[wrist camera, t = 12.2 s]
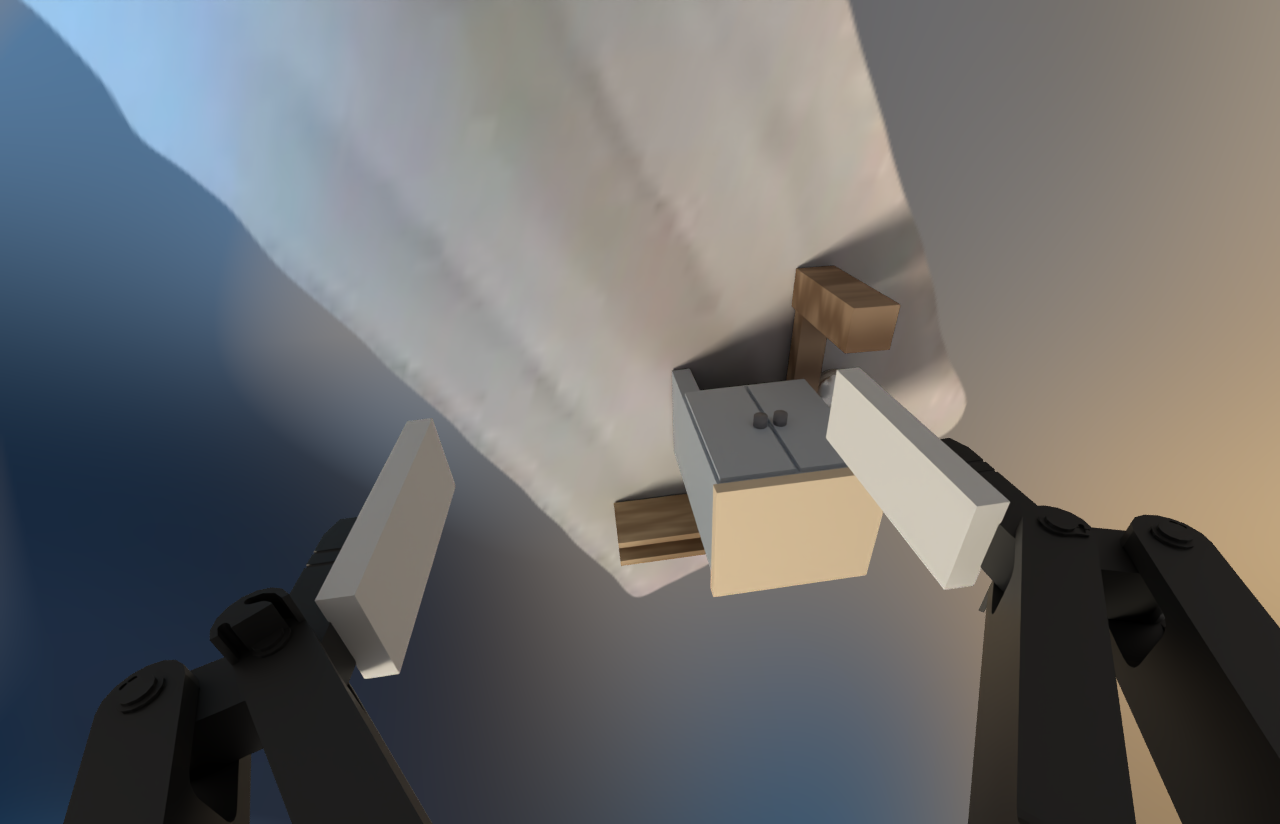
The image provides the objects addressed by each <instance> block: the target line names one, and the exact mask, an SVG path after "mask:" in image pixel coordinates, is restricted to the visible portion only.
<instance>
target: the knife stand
mask: <svg viewBox="0 0 1280 824" xmlns="http://www.w3.org/2000/svg"><path fill="white" fill-rule="evenodd" d="M614 508H615V517H616V526H617V535H618V543H619V552H620V561H621V566H623V565H631V564H638V563H645V562H653V561H660V560H667V559H674V558H682V557H689V556H696V555H703V554H706V553H705V550H704V546H703V543H702V540H701V537H700V533H699V530H698V527H697V524H696V520H695V517H694V514H693V511H692V508H691V504H690V501H689V498H688V495H687V494H681V495H673V496H665V497H657V498H649V499H642V500H634V501H626V502H618V503H614Z"/></svg>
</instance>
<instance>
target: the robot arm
mask: <svg viewBox="0 0 1280 824" xmlns="http://www.w3.org/2000/svg"><path fill="white" fill-rule="evenodd" d="M826 439H827V440H828V441H829V443H830V444H831V445H832V447H833V448H834V449H835V450H836V452H837V453H838V454H839V456H840V457H841V458H842V459H843V461H844V462H845V463H846V465H847V466H848V467H849V468H850V470H851V471H852V472H853V473H854V475H855V476H856V477H857V479H858V480H859V481H860V482H861V484H862V485H863V486H864V488H865V489H866V490H867V491H868V493H869V494H870V495H871V497H872V498H873V499H874V500H875V502H876V503H877V504H878V506H879V507H880V508H881V509H882V511H883V512H884V513H885V514H886V516H887V517H888V518H889V520H890V521H891V522H892V523H893V525H894V526H895V527H896V529H897V530H898V531H899V532H900V534H901V535H902V536H903V538H904V539H905V540H906V541H907V543H908V544H909V545H910V546H911V548H912V549H913V550H914V552H915V553H916V554H917V555H918V557H919V558H920V559H921V561H922V562H923V563H924V564H925V566H926V567H927V568H928V570H929V571H930V572H931V573H932V575H933V576H934V577H935V579H936V580H937V581H938V582H939V584H940V585H941V586H942V587H943V589H944V590H946V589H953V588H960V587H966V586H972V585H974V583H975V581H976V579H977V577H978V574H979V572H980V570H981V568H982V569H983V570H984V572H985V573H986V574H987V575H988V576H989V577H990V578H991V579H992V583H991V585H990V587H989V589H988V591H987V593H986V596H985V598H984V600H983V602H982V604H981V606H980V608H979V611H981V612H984V611H985V609H986V619H985V631H984V642H983V655H982V666H981V677H980V689H979V701H978V713H977V725H976V736H975V748H974V760H973V772H972V783H971V795H970V806H969V819H968V824H1136V820H1135V813H1134V806H1133V798H1132V791H1131V784H1130V777H1129V769H1128V762H1127V755H1126V748H1125V740H1124V733H1123V726H1122V719H1121V712H1120V704H1119V697H1118V690H1117V683H1116V678H1117V680H1118V683H1119V685H1120V687H1121V689H1122V692H1123V694H1124V696H1125V698H1126V700H1127V703H1128V705H1129V707H1130V709H1131V711H1132V713H1133V716H1134V718H1135V720H1136V723H1137V724H1138V727H1139V729H1140V731H1141V733H1142V736H1143V738H1144V740H1145V742H1146V745H1147V747H1148V749H1149V751H1150V754H1151V756H1152V758H1153V760H1154V762H1155V765H1156V767H1157V769H1158V771H1159V773H1160V776H1161V778H1162V780H1163V782H1164V785H1165V787H1166V789H1167V791H1168V793H1169V795H1170V798H1171V800H1172V802H1173V804H1174V807H1175V809H1176V811H1177V813H1178V815H1179V818H1180V820H1181V822H1182V824H1280V628H1279V626H1278V625H1277V624H1276V623H1275V621H1274V620H1273V619H1272V618H1271V616H1270V615H1269V614H1268V613H1267V611H1266V610H1265V609H1264V607H1263V606H1262V605H1261V604H1260V602H1258V600H1257V599H1256V597H1255V596H1254V595H1253V594H1252V592H1251V591H1250V590H1249V589H1248V587H1247V586H1246V585H1245V584H1244V582H1243V581H1242V580H1241V579H1240V577H1239V576H1238V575H1237V574H1236V572H1235V571H1234V570H1233V568H1232V567H1231V566H1230V565H1229V564H1228V562H1227V561H1226V560H1225V558H1224V557H1223V556H1222V555H1221V554H1220V552H1219V551H1218V550H1217V548H1216V547H1215V546H1214V545H1213V543H1212V542H1211V541H1209V540H1208V539H1207V538H1206V537H1205V536H1204V535H1203V534H1202V533H1200V532H1198V531H1197V530H1195V529H1193V528H1192V527H1190V526H1188V525H1186V524H1184V523H1182V522H1178V521H1176V520H1173V519H1170V518H1166V517H1161V516H1156V515H1142V516H1138V517H1135V518H1134V519H1133V521H1132V522H1131V524H1130V526H1129V527H1128V529H1127V530H1126V531H1122V530H1112V529H1102V528H1091V527H1090V526H1089V525H1088V524H1087V523H1086V522H1085V521H1084V520H1082V519H1081V518H1079V517H1077V516H1076V515H1074V514H1072V513H1070V512H1067V511H1065V510H1062V509H1059V508H1055V507H1050V506H1037V505H1036V504H1035V503H1033V501H1031V500H1030V499H1029V498H1028V497H1027V496H1025V495H1024V494H1023V493H1022V492H1021V491H1020V490H1018V489H1017V488H1016V487H1015V486H1014V485H1013V484H1011V483H1010V482H1009V481H1008V480H1007V479H1005V478H1004V477H1003V476H1002V475H1001V474H999V473H998V472H995V471H994V468H992V467H991V466H990V465H989V464H988V463H986V462H983V459H982V458H981V457H979V456H978V455H977V454H976V453H975V452H974V451H972V450H971V449H970V448H969V447H967V446H965V445H962V444H961V443H959V442H957V441H955V440H953V439H951V438H945V439H939V438H938V437H937V436H936V435H935V434H934V433H932V432H931V431H930V430H929V429H928V428H927V427H926V426H925V425H923V424H922V423H921V422H920V421H919V420H918V419H917V418H916V417H914V416H913V415H912V414H911V413H910V412H909V411H908V410H907V409H906V408H904V407H903V406H902V405H901V404H900V403H899V402H898V401H897V400H895V399H894V398H893V397H892V396H891V395H890V394H889V393H888V392H886V391H885V390H884V389H883V388H882V387H881V386H880V385H879V384H877V383H876V382H875V381H874V380H873V379H872V378H871V377H870V376H868V375H867V374H866V373H865V372H864V371H863V370H862V369H861V368H859V367H857V368H848V369H840V370H837V372H836V379H835V385H834V391H833V397H832V403H831V410H830V416H829V422H828V428H827V434H826ZM454 489H455V483H454V480H453V477H452V474H451V471H450V468H449V466H448V463H447V460H446V457H445V454H444V451H443V448H442V445H441V442H440V439H439V436H438V434H437V431H436V428H435V425H434V422H433V419H432V418H430V419H423V420H414V421H407V423H406V425H405V426H404V428H403V430H402V432H401V434H400V436H399V438H398V440H397V442H396V444H395V446H394V448H393V450H392V452H391V454H390V456H389V458H388V459H387V461H386V463H385V465H384V467H383V469H382V471H381V473H380V475H379V477H378V479H377V481H376V483H375V485H374V487H373V489H372V490H371V493H370V494H369V496H368V498H367V500H366V502H365V504H364V506H363V508H362V510H361V512H360V514H359V516H358V517H355V518H347V519H340V520H339V521H338V522H337V523H336V524H335V525H334V526H333V527H331V528H330V529H329V530H328V531H327V532H326V533H325V534H324V535H323V537H322V539H321V540H320V542H319V544H318V546H317V547H316V549H315V551H314V554H313V555H312V556H311V558H310V560H309V561H308V563H307V568H304V570H303V572H302V573H301V575H300V577H299V579H298V580H297V582H296V584H295V586H294V587H293V589H292V591H291V593H290V594H288V593H287V592H286V591H284V590H283V589H280V588H267V589H263V590H258V591H255V592H253V593H251V594H249V595H246V596H245V597H242V598H241V599H239V600H238V601H236V602H235V603H233V604H232V605H230V606H229V607H228V608H227V609H226V610H225V611H224V612H223V613H222V614H221V615H220V616H219V617H218V618H217V619H216V621H215V623H214V624H213V626H212V628H211V630H210V641H211V642H212V643H213V644H214V646H215V647H216V648H217V649H218V650H219V651H220V652H221V654H222V655H223V656H224V658H221V659H219V660H216V661H214V662H211V663H209V664H206V665H204V666H201V667H199V668H196V669H194V670H191V671H189V670H188V669H187V668H186V666H185V665H183V664H182V663H180V662H178V661H177V660H164V661H160V662H157V663H154V664H151V665H148V666H146V667H144V668H143V669H141V670H139V671H137V672H135V673H133V674H132V675H130V676H129V677H128V678H126V679H125V680H124V681H122V682H121V683H120V684H119V685H117V686H116V687H115V688H114V689H113V690H112V691H111V692H110V693H109V694H108V695H107V697H106V698H105V699H104V700H103V701H102V703H101V704H100V706H99V708H98V710H97V712H96V714H95V716H94V720H93V723H92V727H91V730H90V734H89V737H88V740H87V744H86V747H85V751H84V754H83V758H82V761H81V765H80V768H79V771H78V775H77V779H76V782H75V785H74V789H73V792H72V795H71V799H70V802H69V806H68V810H67V813H66V816H65V820H64V823H63V824H249V823H250V822H249V821H250V780H251V778H250V777H251V754H252V753H254V752H256V751H258V750H261V749H263V748H264V751H265V754H266V756H267V759H268V761H269V764H270V767H271V769H272V772H273V774H274V777H275V780H276V783H277V785H278V788H279V790H280V793H281V795H282V798H283V801H284V804H285V806H286V809H287V811H288V814H289V817H290V819H291V822H292V824H432V822H431V820H430V819H429V817H428V815H427V814H426V812H425V810H424V809H423V807H422V805H421V803H420V802H419V800H418V798H417V797H416V795H415V794H414V792H413V790H412V788H411V786H410V785H409V783H408V781H407V780H406V778H405V776H404V775H403V773H402V771H401V769H400V768H399V766H398V764H397V763H396V761H395V759H394V758H393V756H392V754H391V752H390V751H389V749H388V747H387V746H386V744H385V742H384V741H383V739H382V737H381V735H380V734H379V732H378V730H377V729H376V727H375V725H374V724H373V722H372V720H371V718H370V717H369V715H368V713H367V712H366V710H365V708H364V706H363V705H362V703H361V701H360V700H359V698H358V697H357V695H356V693H355V691H354V689H353V688H352V686H351V685H350V684H349V680H350V678H351V675H352V672H353V670H354V667H355V665H356V666H357V667H358V669H359V671H360V672H361V674H362V675H363V677H364V678H365V679H367V678H374V677H381V676H387V675H394V674H399V673H400V669H401V667H402V663H403V660H404V656H405V653H406V650H407V646H408V643H409V640H410V636H411V633H412V630H413V626H414V623H415V620H416V616H417V613H418V610H419V606H420V603H421V600H422V596H423V593H424V590H425V586H426V583H427V579H428V576H429V573H430V569H431V566H432V563H433V560H434V556H435V553H436V549H437V546H438V543H439V539H440V536H441V533H442V529H443V526H444V523H445V520H446V516H447V513H448V509H449V506H450V503H451V499H452V496H453V493H454Z"/></svg>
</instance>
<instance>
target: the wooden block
mask: <svg viewBox="0 0 1280 824" xmlns="http://www.w3.org/2000/svg"><path fill="white" fill-rule="evenodd" d="M792 307H793V308H794V309H795V318H794V325H793V333H792V340H791V348H790V355H789V363H788V370H787V378H786V381H788V380H797V379H805V380H806V381H807V382H808V384H809V385H810V386H811V387H812V388H813V389H814V390H815V392H816V393H817V392H818V386H819V381H820V375H821V369H822V363H823V358H824V352H825V346H826V340H827V338H828V339H829V340H830V341H831V342H833V343H834V344H835V345H836V346H837V347H838V348H839V349H840V350H842V351H843V352H844V353H857V352H868V351H879V350H890V346H891V342H892V337H893V333H894V329H895V325H896V321H897V317H898V313H899V309H900V304H899V303H897V302H895V301H893V300H892V299H890V298H888V297H887V296H885V295H883V294H882V293H880V292H878V291H876V290H875V289H873V288H871V287H870V286H868V285H866V284H864V283H863V282H861V281H859V280H858V279H856V278H854V277H853V276H851V275H849V274H847V273H846V272H844V271H842V270H841V269H839V268H837V267H836V266H822V267H809V268H796V275H795V283H794V291H793V298H792Z"/></svg>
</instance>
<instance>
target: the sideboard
mask: <svg viewBox="0 0 1280 824" xmlns="http://www.w3.org/2000/svg"><path fill="white" fill-rule="evenodd" d="M672 395H673V431H674V453H675V456H676V459H677V462H678V465H679V469H680V472H681V475H682V478H683V482H684V485H685V488H686V491H687V495H688V498H689V501H690V504H691V508H692V511H693V514H694V517H695V520H696V524H697V527H698V530H699V533H700V537H701V540H702V543H703V546H704V550H705V553H706V556H707V559H708V562H709V566H710V569H711V591H712V594H713V597H717V596H724V595H731V594H738V593H745V592H752V591H759V590H766V589H773V588H779V587H787V586H794V585H801V584H808V583H814V582H821V581H828V580H835V579H842V578H849V577H856V576H863V575H866V573H867V569H868V566H869V562H870V559H871V555H872V551H873V547H874V544H875V540H876V536H877V533H878V529H879V525H880V521H881V518H882V514H883V511H882V509H881V508H880V507H879V506H878V504H877V503H876V502H875V500H874V499H873V498H872V497H871V495H870V494H869V493H868V491H867V490H866V489H865V488H864V486H863V485H862V484H861V482H860V481H859V480H858V479H857V477H856V476H855V475H854V473H853V472H852V471H851V470H850V468H849V467H848V466H847V465H846V463H845V462H844V461H843V459H842V458H841V457H840V456H839V454H838V453H837V452H836V450H835V449H834V448H833V447H832V445H831V444H830V443H829V441H828V440H827V439H826V434H827V428H828V422H829V416H830V410H831V409H830V407H829V406H828V405H827V404H826V403H825V402H824V401H823V400H822V398H821V397H820V396H819V395H818V394H817V393H816V392H815V390H814V389H813V388H812V387H811V386H810V385H809V384H808V382H807V381H806V380H805V379H797V380H788V381H779V382H770V383H761V384H752V385H743V386H734V387H726V388H717V389H708V390H699V388H698V385H697V383H696V381H695V379H694V377H693V375H692V373H691V371H690V369H682V370H673V371H672Z"/></svg>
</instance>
